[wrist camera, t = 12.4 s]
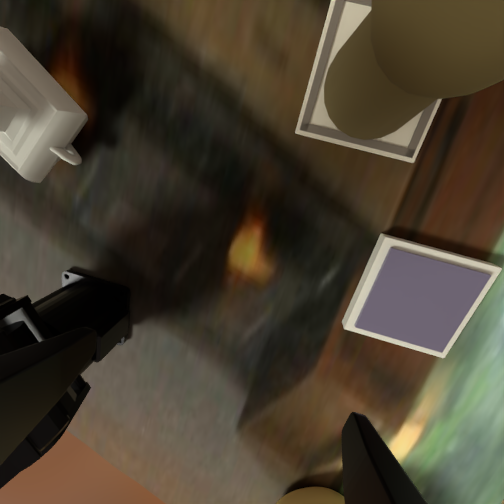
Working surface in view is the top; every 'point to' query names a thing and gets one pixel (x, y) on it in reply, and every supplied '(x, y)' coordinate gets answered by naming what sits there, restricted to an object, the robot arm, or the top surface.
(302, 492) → the sculpture
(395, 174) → the top surface
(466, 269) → the ink pad
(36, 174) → the stamp
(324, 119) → the white flat square piece
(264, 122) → the top surface
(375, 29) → the brown peg figure
